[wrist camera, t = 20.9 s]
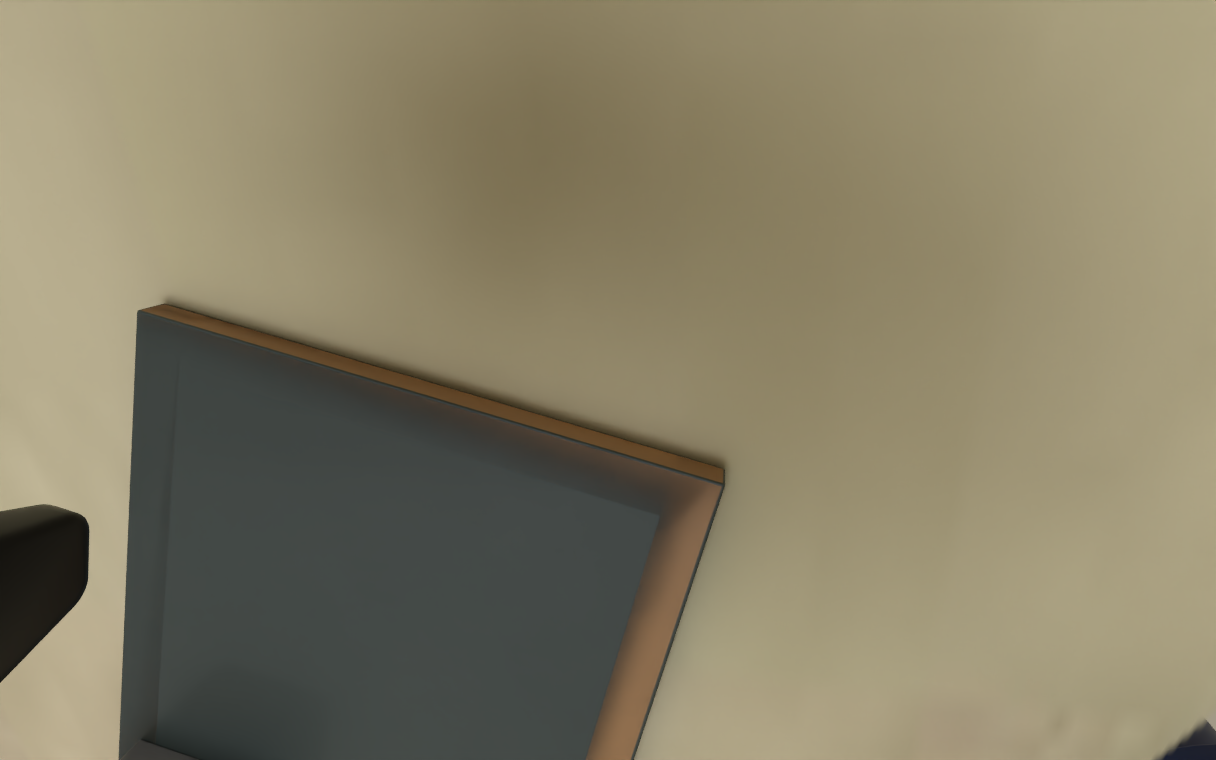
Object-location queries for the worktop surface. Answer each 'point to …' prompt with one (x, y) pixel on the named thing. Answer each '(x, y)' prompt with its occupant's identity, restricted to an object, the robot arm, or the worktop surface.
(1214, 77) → the worktop surface
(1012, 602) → the worktop surface
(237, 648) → the chalkboard
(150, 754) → the wooden block
